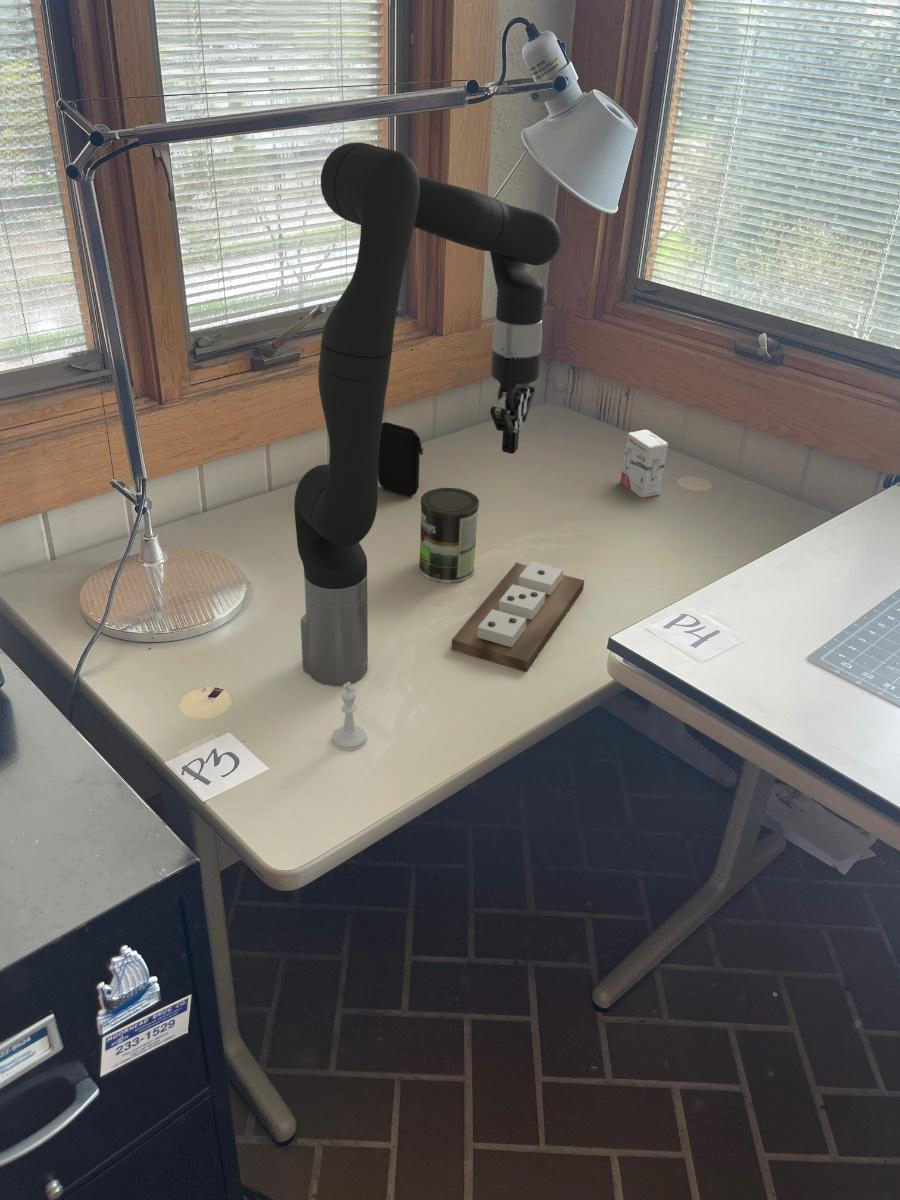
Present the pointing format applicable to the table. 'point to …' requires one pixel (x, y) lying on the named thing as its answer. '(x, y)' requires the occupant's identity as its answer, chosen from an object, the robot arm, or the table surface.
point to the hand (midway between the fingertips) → (509, 451)
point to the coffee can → (448, 534)
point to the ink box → (644, 463)
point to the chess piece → (349, 724)
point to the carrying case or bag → (399, 459)
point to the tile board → (535, 629)
